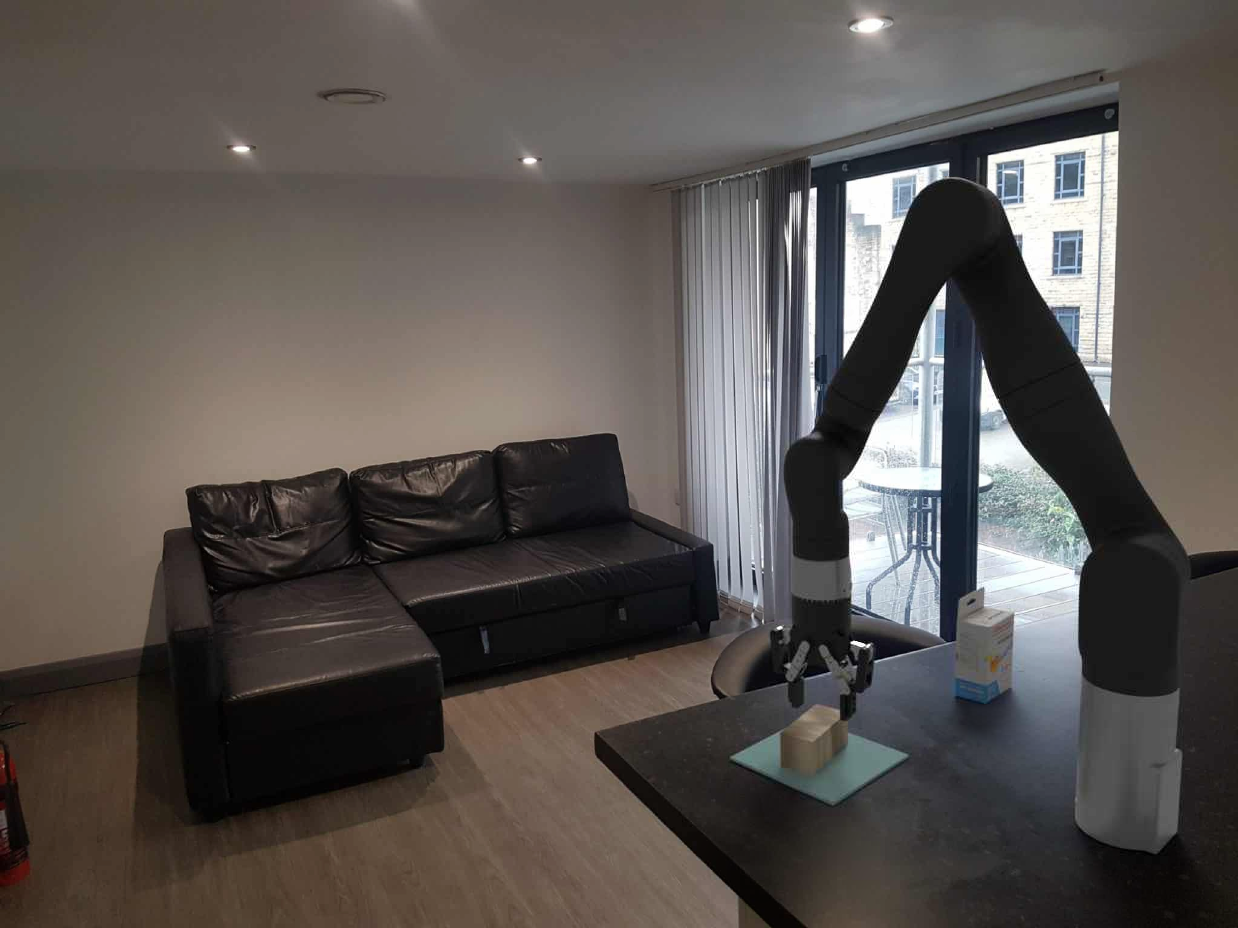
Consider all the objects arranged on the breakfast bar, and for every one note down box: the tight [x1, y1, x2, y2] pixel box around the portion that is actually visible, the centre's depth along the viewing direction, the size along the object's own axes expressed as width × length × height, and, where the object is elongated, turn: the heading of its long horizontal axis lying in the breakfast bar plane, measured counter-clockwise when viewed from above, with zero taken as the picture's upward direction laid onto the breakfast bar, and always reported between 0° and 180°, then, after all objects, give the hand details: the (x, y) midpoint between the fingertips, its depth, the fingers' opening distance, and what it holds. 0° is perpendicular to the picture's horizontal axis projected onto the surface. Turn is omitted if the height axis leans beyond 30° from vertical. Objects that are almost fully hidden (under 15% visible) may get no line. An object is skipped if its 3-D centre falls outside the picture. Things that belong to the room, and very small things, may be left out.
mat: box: [729, 727, 909, 807], centre depth 122 cm, size 16×16×1 cm
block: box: [780, 703, 849, 776], centre depth 122 cm, size 4×4×10 cm
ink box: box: [954, 586, 1015, 705], centre depth 138 cm, size 8×5×15 cm, turn 134°
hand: (821, 711), depth 123 cm, fingers open, 6 cm apart
